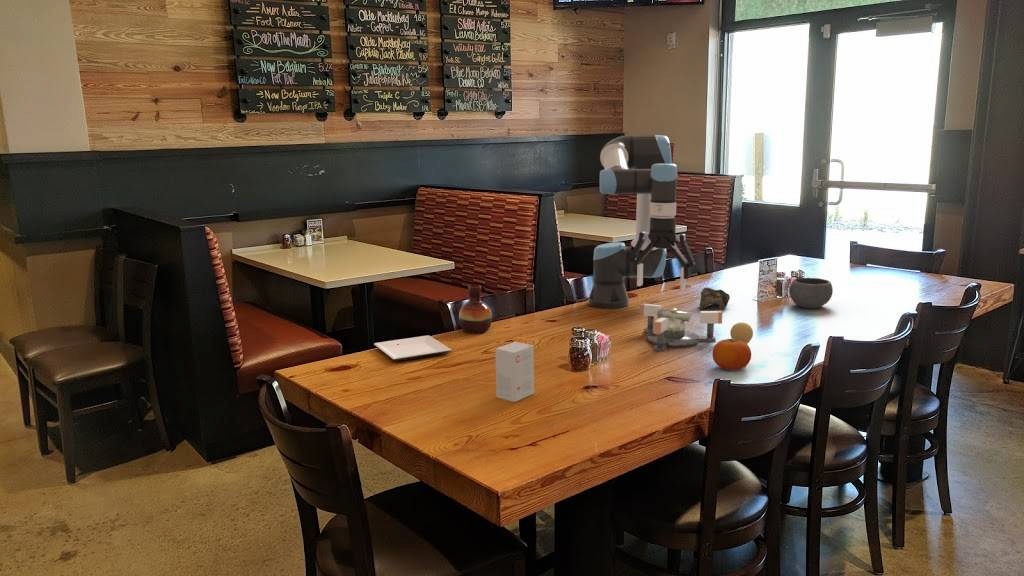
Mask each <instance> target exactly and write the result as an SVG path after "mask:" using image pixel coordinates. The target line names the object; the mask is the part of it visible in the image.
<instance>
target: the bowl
mask: <svg viewBox="0 0 1024 576" xmlns="http://www.w3.org/2000/svg"><path fill="white" fill-rule="evenodd" d="M833 291H834V289H833V285H832V282H831V281H830V280H827V279H823V278H819V277H817V278H816V277H799V278H794V279H793V280H792V281H791V283H790V285H789V296H790V298H791V300H792V302H793V303H794V304H795V305H796V306H798V307H800V308H805V309H817V308H820V307H823V306H824V305H826V304H828V303H829V301H831V299H832V297H833Z"/></svg>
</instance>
